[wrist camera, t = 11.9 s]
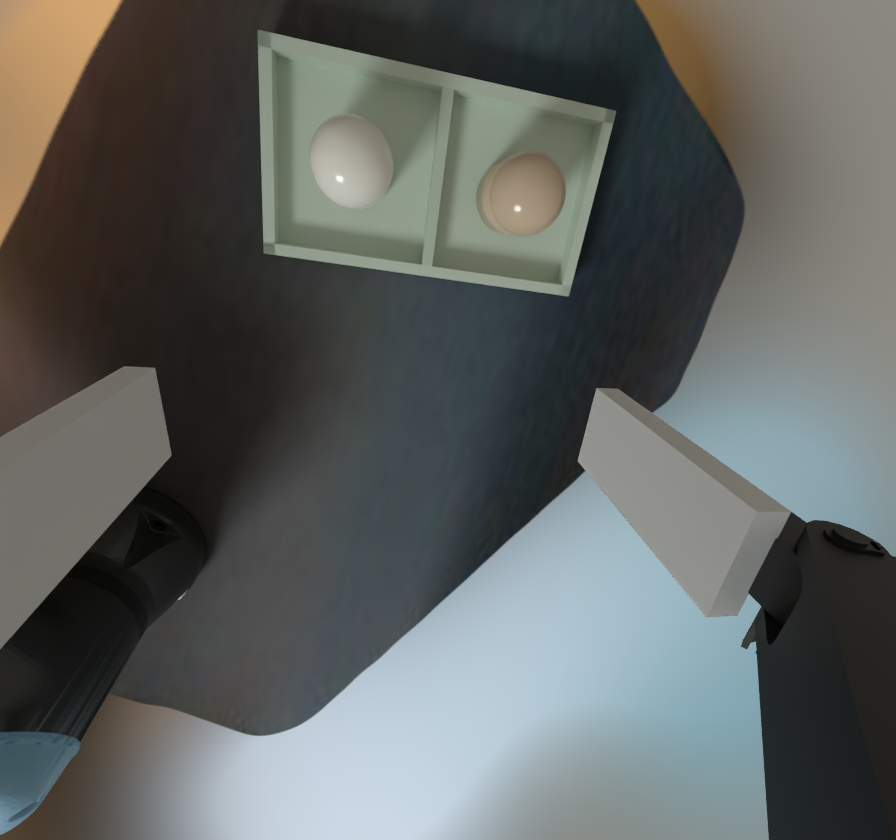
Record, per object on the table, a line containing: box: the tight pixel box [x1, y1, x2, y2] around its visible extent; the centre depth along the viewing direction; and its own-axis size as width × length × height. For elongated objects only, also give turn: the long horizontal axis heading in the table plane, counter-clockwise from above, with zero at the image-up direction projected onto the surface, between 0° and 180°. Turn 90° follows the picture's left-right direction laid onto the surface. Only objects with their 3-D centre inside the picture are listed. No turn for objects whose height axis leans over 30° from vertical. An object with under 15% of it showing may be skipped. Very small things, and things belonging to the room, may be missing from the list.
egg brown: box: [476, 151, 566, 237], centre depth 30 cm, size 5×5×8 cm
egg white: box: [309, 113, 393, 209], centre depth 28 cm, size 5×5×8 cm
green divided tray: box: [258, 30, 616, 296], centre depth 32 cm, size 24×13×2 cm, turn 82°
